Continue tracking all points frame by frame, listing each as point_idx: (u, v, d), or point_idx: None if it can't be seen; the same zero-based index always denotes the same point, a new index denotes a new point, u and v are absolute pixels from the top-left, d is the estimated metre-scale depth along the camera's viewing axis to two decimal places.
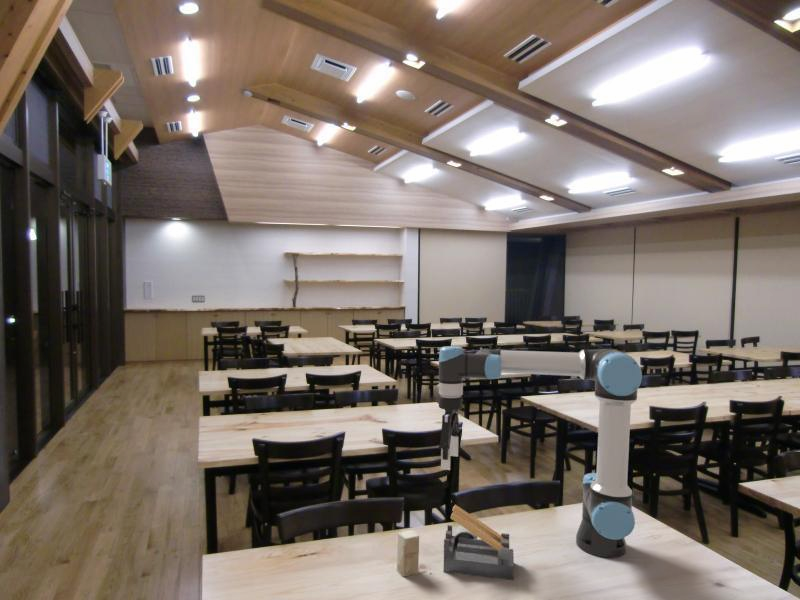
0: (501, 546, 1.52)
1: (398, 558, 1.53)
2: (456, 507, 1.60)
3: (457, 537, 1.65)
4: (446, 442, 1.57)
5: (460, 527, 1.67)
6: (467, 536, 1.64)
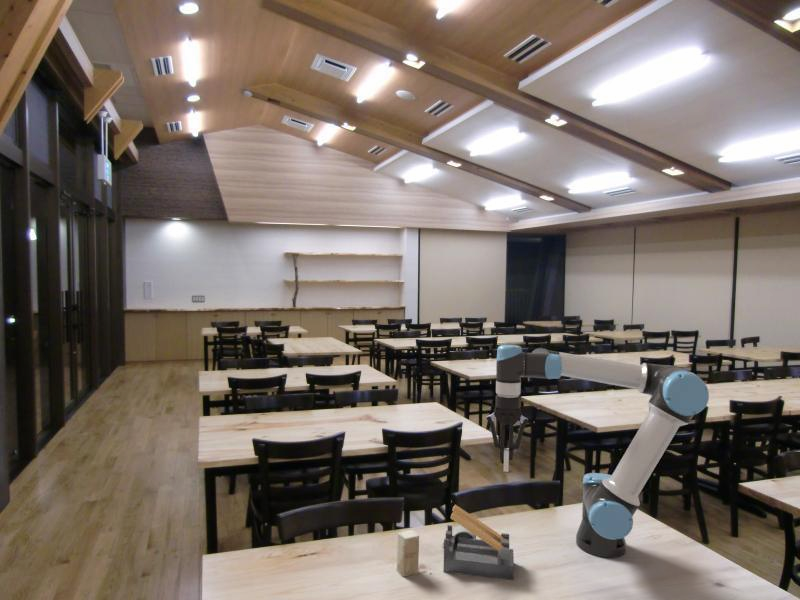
0: (501, 546, 1.52)
1: (398, 558, 1.53)
2: (456, 507, 1.60)
3: (456, 537, 1.65)
4: None
5: (459, 527, 1.67)
6: (466, 536, 1.64)
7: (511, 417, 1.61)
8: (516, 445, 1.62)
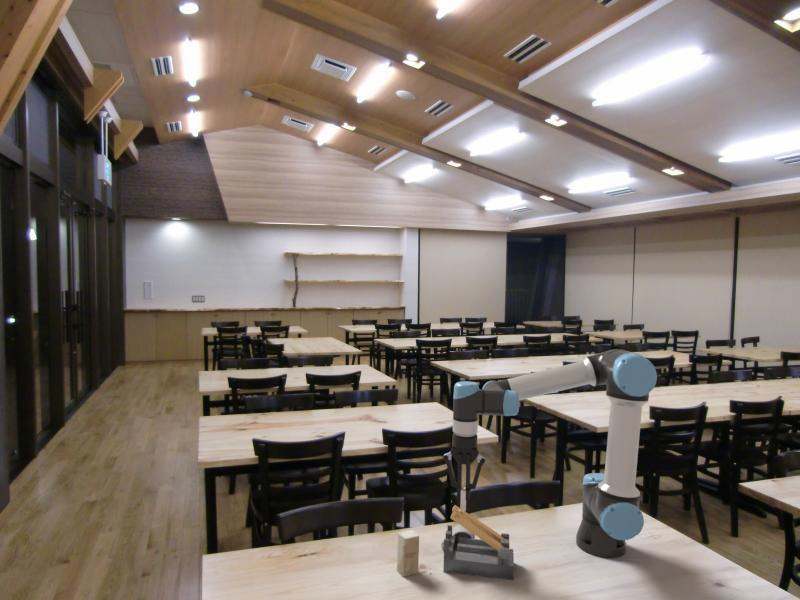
0: (501, 546, 1.52)
1: (398, 558, 1.53)
2: (456, 507, 1.60)
3: None
4: (450, 481, 1.60)
5: (457, 527, 1.67)
6: (464, 536, 1.64)
7: (468, 456, 1.57)
8: (473, 485, 1.58)
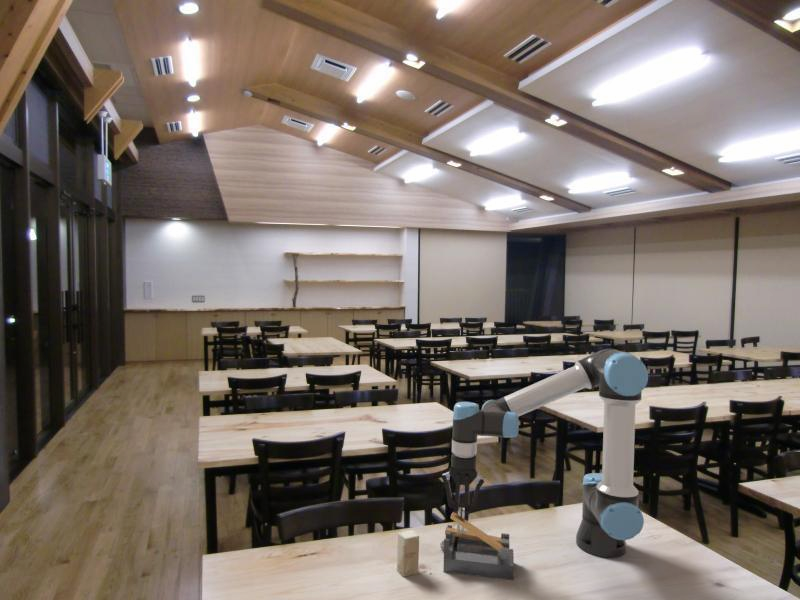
0: (501, 546, 1.52)
1: (398, 558, 1.53)
2: (447, 529, 1.60)
3: None
4: None
5: (456, 527, 1.67)
6: None
7: (466, 477, 1.57)
8: (472, 506, 1.58)
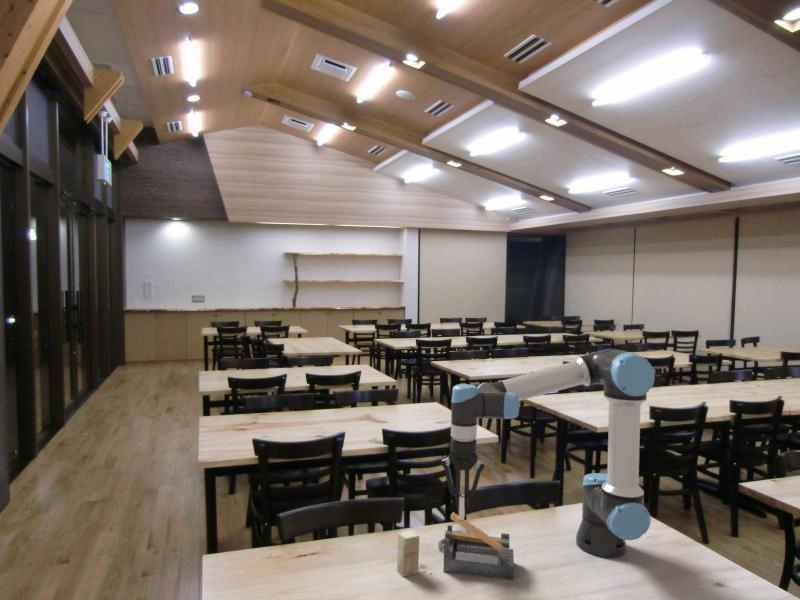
0: (501, 546, 1.52)
1: (398, 558, 1.53)
2: None
3: None
4: (448, 487, 1.54)
5: (454, 526, 1.68)
6: None
7: (466, 462, 1.52)
8: (472, 492, 1.52)
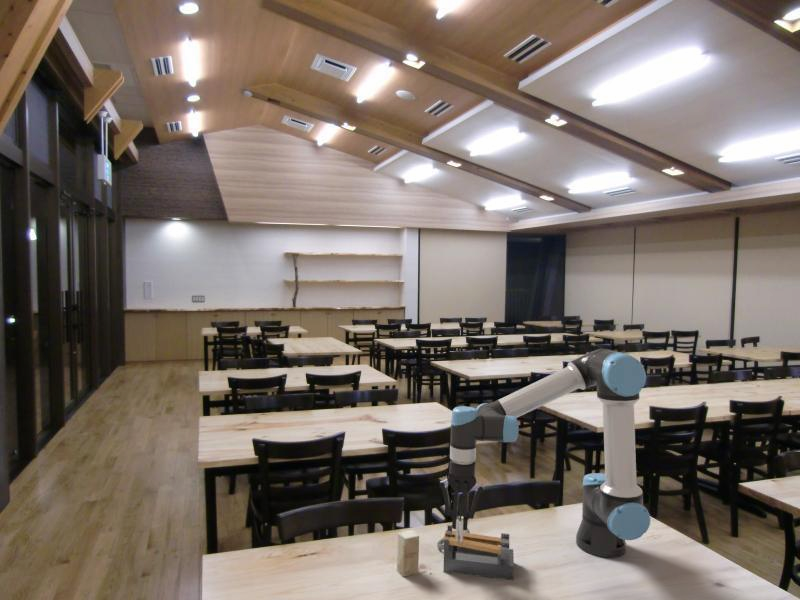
0: (499, 548, 1.52)
1: (398, 558, 1.53)
2: None
3: None
4: (446, 509, 1.55)
5: None
6: None
7: (465, 485, 1.52)
8: (471, 514, 1.53)
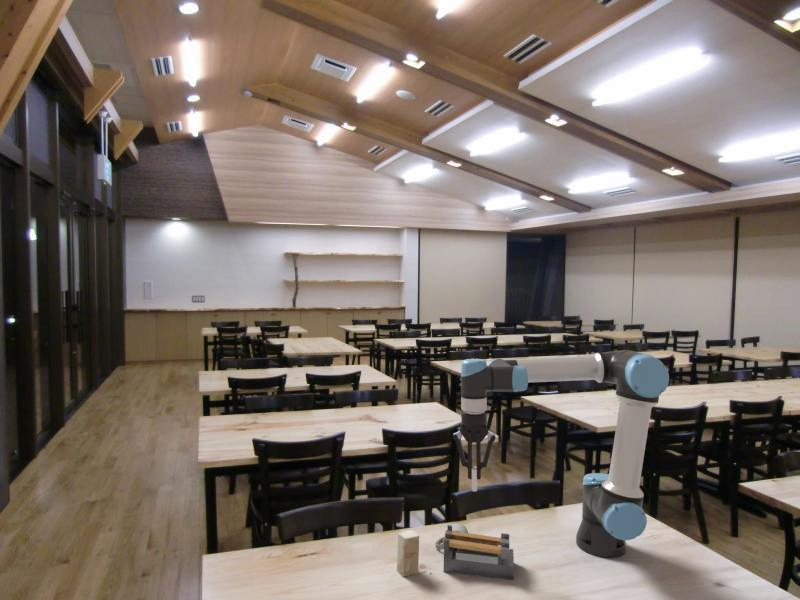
0: (499, 548, 1.52)
1: (398, 558, 1.53)
2: None
3: None
4: (461, 460, 1.57)
5: None
6: None
7: (478, 434, 1.55)
8: (484, 463, 1.56)
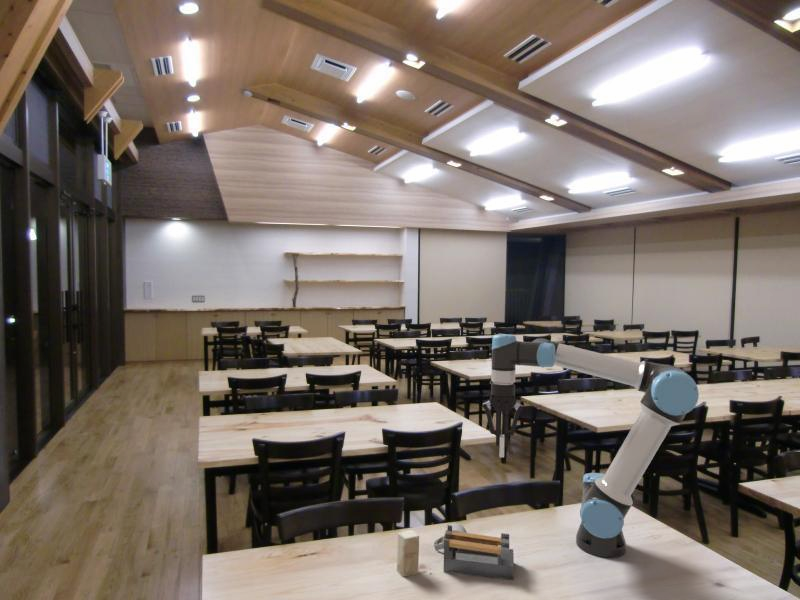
0: (499, 548, 1.52)
1: (398, 558, 1.53)
2: None
3: None
4: None
5: None
6: None
7: (506, 404, 1.66)
8: (511, 431, 1.66)
